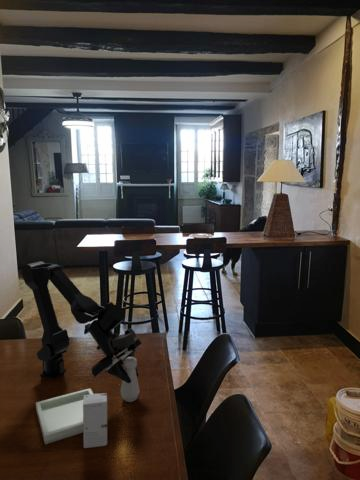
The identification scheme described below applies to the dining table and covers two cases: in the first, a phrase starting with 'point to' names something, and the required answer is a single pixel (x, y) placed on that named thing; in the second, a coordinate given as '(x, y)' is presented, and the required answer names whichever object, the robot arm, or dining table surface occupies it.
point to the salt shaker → (132, 388)
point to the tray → (61, 415)
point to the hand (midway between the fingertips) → (133, 379)
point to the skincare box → (95, 420)
